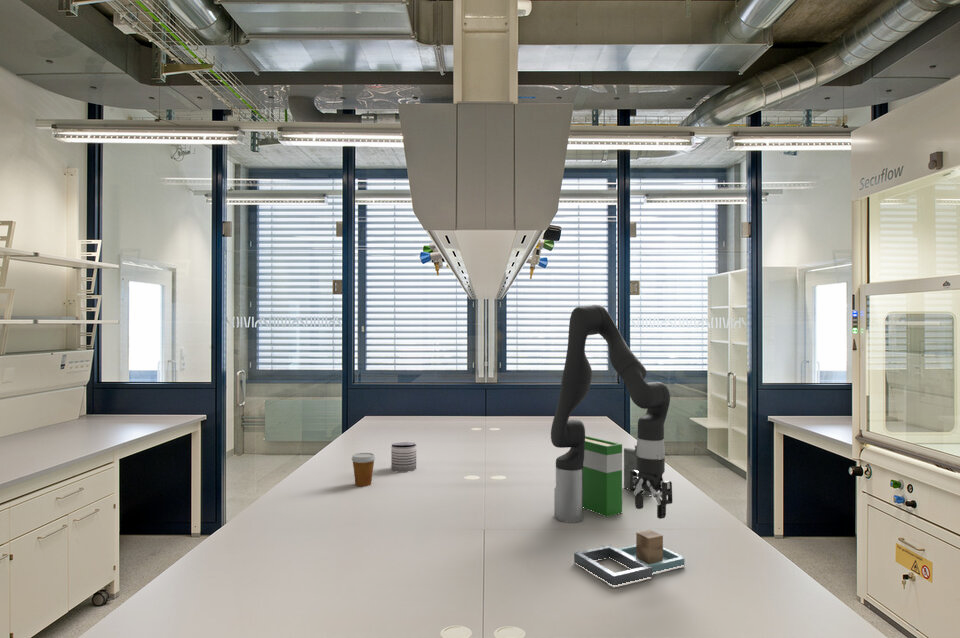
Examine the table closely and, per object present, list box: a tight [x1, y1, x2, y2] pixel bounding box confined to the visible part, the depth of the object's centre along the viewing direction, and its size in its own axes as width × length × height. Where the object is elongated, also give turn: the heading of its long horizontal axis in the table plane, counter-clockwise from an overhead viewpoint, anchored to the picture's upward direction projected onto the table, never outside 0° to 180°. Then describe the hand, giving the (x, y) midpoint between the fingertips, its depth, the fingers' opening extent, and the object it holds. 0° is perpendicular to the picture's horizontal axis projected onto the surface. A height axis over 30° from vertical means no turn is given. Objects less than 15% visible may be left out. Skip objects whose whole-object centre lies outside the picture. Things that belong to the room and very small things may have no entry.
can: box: [390, 441, 417, 473], centre depth 264 cm, size 11×11×12 cm
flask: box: [623, 444, 653, 496], centre depth 230 cm, size 4×14×18 cm, turn 28°
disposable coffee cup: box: [351, 452, 376, 487], centre depth 239 cm, size 10×10×12 cm
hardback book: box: [583, 435, 623, 517], centre depth 209 cm, size 18×7×24 cm, turn 33°
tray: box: [617, 544, 685, 573], centre depth 161 cm, size 13×13×2 cm
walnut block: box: [635, 529, 664, 564], centre depth 161 cm, size 5×5×7 cm
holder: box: [573, 544, 653, 585], centre depth 155 cm, size 17×12×3 cm
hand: (650, 513), depth 161 cm, fingers open, 8 cm apart
